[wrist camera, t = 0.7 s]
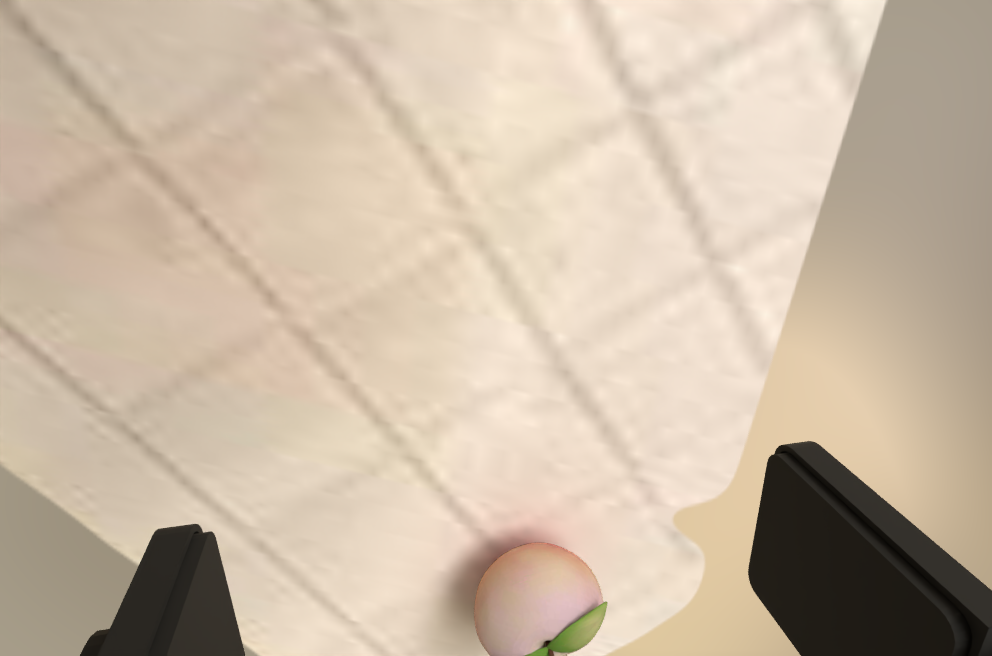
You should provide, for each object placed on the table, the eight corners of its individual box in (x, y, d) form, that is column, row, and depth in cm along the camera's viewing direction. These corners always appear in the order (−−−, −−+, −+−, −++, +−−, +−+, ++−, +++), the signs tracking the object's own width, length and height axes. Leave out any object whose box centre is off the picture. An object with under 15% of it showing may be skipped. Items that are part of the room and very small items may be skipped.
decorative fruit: (525, 489, 46) (563, 591, 37) (594, 541, 50) (645, 647, 41) (438, 571, 48) (454, 689, 39) (511, 616, 51) (542, 735, 42)
